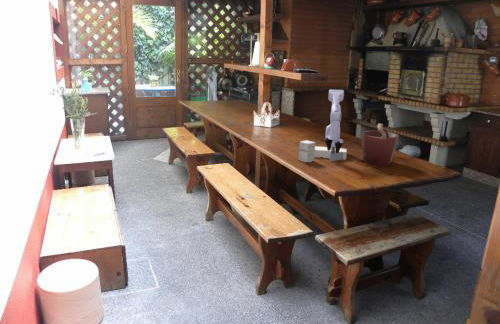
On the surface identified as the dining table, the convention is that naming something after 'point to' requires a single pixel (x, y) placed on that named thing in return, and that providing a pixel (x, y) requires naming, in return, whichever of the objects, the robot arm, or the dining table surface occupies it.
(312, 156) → the supplement box
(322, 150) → the carton
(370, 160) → the bucket
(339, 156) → the flap
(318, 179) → the dining table surface
